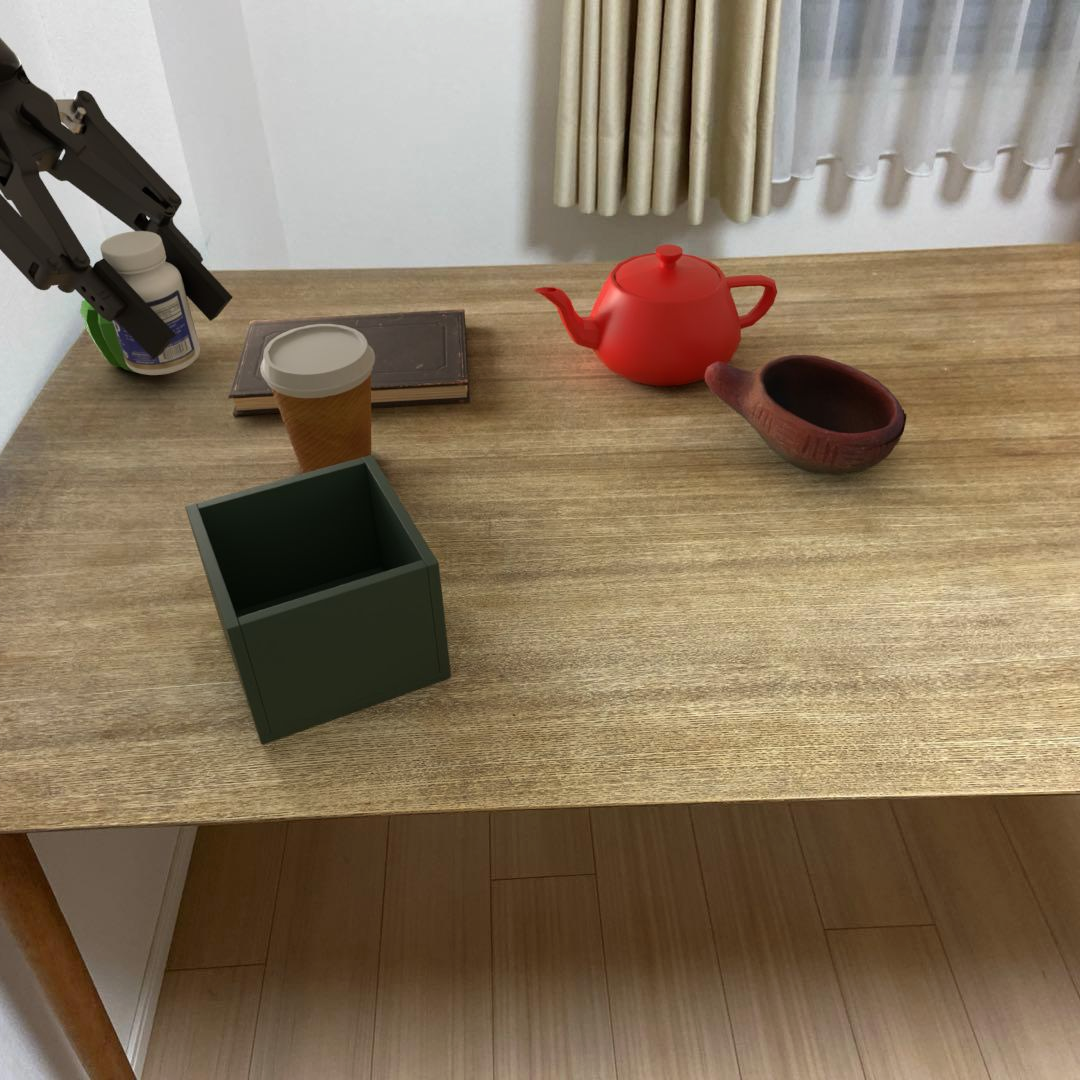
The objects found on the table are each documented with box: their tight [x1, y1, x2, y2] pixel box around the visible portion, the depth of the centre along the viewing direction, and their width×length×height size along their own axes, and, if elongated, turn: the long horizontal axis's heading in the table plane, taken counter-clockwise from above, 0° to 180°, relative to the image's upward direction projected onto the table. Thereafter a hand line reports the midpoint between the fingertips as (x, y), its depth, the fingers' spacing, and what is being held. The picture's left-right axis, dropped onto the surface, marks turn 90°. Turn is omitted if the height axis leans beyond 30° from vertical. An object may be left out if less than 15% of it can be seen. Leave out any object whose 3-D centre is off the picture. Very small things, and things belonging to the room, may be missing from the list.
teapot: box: [533, 243, 778, 387], centre depth 102 cm, size 25×16×12 cm, turn 101°
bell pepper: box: [79, 298, 136, 373], centre depth 105 cm, size 8×8×10 cm
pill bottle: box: [99, 230, 201, 376], centre depth 71 cm, size 5×5×9 cm
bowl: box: [704, 354, 907, 476], centre depth 89 cm, size 16×13×8 cm
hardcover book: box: [228, 308, 470, 417], centre depth 105 cm, size 16×23×2 cm
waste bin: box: [184, 454, 452, 745], centre depth 71 cm, size 14×14×11 cm
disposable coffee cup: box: [261, 324, 375, 474], centre depth 89 cm, size 10×10×12 cm
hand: (193, 327), depth 71 cm, fingers closed on pill bottle, 5 cm apart
